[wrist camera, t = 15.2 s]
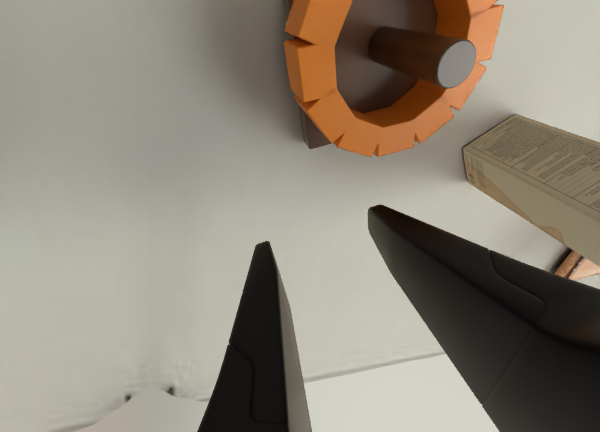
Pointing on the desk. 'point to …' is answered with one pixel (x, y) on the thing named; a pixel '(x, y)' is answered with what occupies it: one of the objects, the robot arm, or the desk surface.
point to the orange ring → (409, 108)
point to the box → (542, 179)
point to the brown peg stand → (390, 56)
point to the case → (577, 267)
